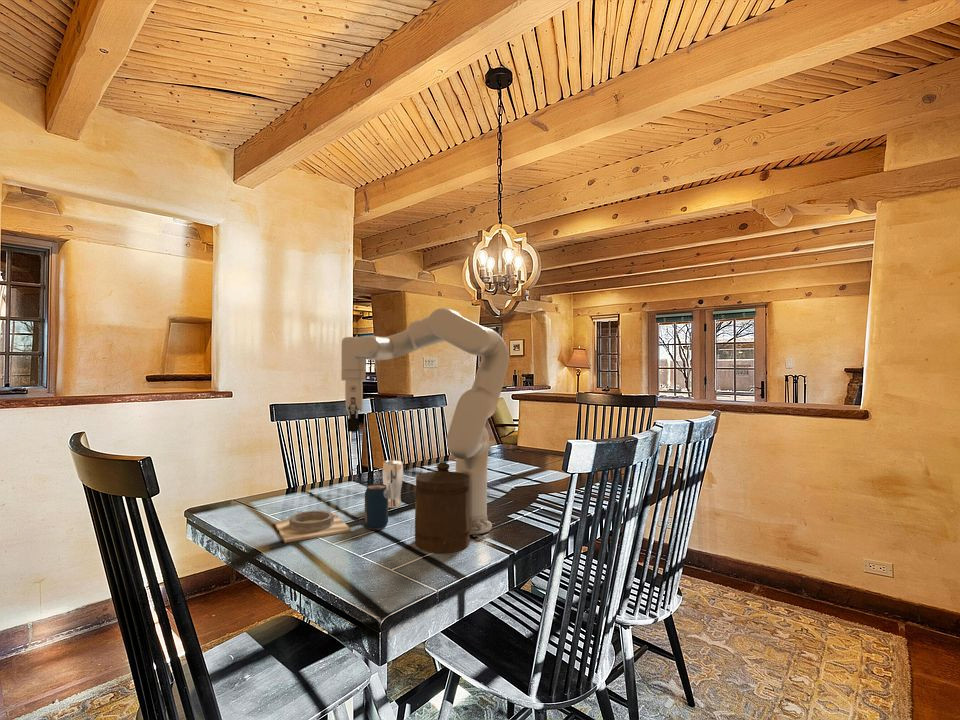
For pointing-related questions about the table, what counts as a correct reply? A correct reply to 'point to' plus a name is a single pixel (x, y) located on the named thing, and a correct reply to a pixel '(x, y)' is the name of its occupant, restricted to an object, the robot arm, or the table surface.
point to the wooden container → (442, 511)
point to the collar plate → (309, 535)
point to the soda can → (376, 506)
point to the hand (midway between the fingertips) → (353, 429)
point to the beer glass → (393, 481)
